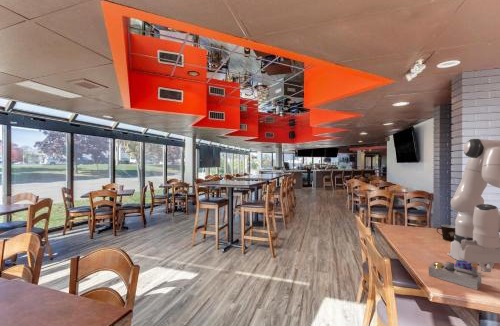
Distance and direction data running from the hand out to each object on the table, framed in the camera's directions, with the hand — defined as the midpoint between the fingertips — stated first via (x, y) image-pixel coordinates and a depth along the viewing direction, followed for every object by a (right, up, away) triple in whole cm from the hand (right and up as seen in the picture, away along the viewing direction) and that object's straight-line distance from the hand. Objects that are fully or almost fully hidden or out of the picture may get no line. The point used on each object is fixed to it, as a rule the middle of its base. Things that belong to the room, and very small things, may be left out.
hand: (485, 271), depth 110 cm
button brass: (-11, -5, +13) cm, 18 cm away
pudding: (+5, -8, +17) cm, 20 cm away
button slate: (-8, -4, +10) cm, 13 cm away
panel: (-8, -8, +9) cm, 14 cm away
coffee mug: (+38, -8, +70) cm, 80 cm away
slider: (-2, -3, +3) cm, 5 cm away
